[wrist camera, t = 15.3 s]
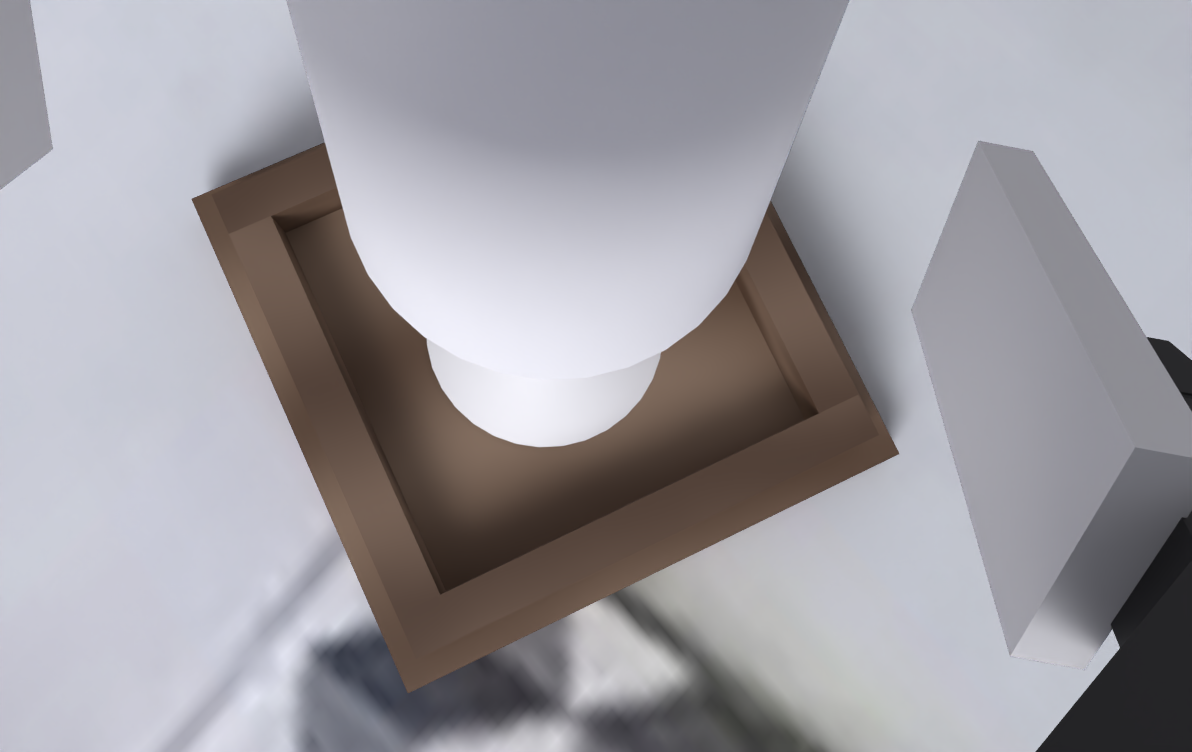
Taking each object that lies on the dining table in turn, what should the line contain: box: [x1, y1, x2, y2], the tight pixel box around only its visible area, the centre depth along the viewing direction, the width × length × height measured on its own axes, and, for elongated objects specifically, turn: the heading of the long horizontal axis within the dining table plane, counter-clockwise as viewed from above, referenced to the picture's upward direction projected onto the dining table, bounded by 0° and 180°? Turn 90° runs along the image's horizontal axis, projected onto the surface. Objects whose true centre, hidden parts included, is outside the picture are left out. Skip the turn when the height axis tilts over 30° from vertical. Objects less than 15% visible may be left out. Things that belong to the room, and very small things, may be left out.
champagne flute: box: [286, 0, 849, 447], centre depth 18 cm, size 7×7×24 cm
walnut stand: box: [192, 143, 899, 693], centre depth 29 cm, size 15×15×3 cm
